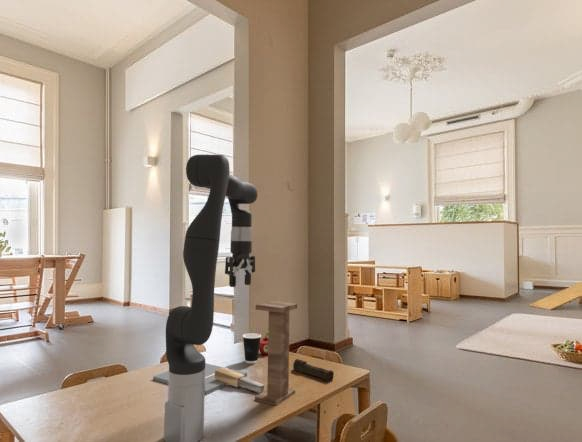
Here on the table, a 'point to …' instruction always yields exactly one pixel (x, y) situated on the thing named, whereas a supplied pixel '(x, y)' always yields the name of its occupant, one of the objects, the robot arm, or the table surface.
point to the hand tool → (312, 370)
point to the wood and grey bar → (237, 380)
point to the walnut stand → (277, 352)
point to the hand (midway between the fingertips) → (240, 285)
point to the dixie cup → (251, 347)
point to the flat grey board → (210, 382)
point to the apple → (264, 345)
